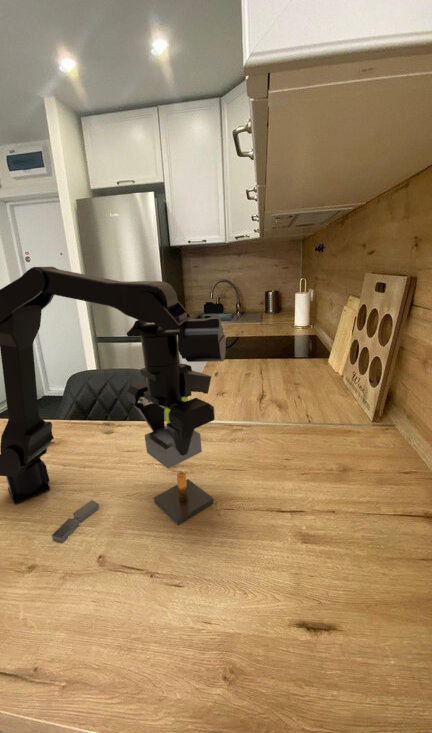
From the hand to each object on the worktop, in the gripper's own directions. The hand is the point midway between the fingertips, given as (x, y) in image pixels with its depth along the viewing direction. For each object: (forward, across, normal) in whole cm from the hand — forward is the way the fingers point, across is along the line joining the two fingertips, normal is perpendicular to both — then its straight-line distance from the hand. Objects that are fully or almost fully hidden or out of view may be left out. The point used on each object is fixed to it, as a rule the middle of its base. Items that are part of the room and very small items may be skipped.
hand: (172, 446), depth 58 cm
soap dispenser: (+12, +21, -14) cm, 28 cm away
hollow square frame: (+1, 0, 0) cm, 1 cm away
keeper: (+12, 0, -1) cm, 12 cm away
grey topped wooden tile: (+12, +10, +14) cm, 21 cm away
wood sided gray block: (+12, +7, +18) cm, 23 cm away
